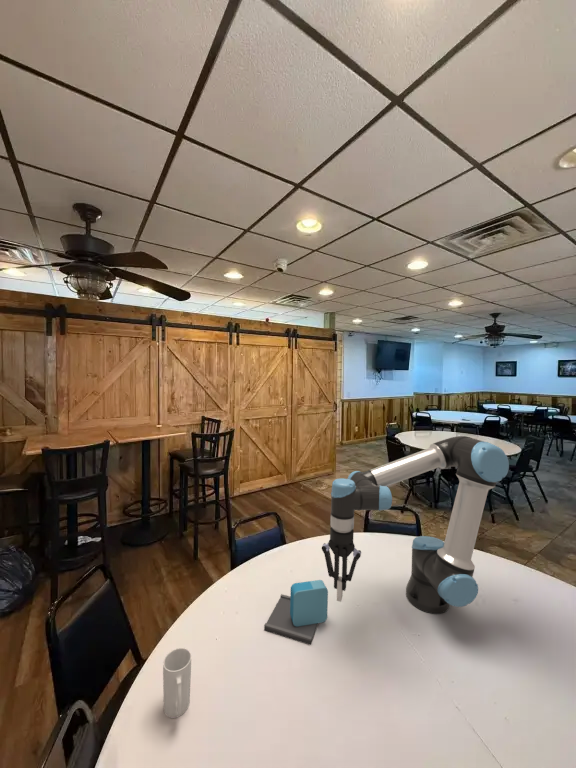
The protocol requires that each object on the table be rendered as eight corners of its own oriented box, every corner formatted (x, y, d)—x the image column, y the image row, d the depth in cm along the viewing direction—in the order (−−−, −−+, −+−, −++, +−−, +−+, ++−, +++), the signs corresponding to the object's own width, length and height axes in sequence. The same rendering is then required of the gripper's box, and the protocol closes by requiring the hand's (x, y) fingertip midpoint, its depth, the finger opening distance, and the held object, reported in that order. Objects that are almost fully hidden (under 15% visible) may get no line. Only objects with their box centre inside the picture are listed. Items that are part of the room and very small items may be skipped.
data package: (322, 612, 113) (323, 578, 112) (327, 622, 108) (328, 587, 108) (289, 617, 110) (290, 583, 109) (293, 627, 105) (293, 592, 105)
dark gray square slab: (322, 610, 115) (322, 605, 115) (311, 645, 100) (311, 639, 100) (281, 598, 121) (281, 594, 121) (264, 630, 106) (264, 625, 106)
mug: (162, 697, 83) (162, 652, 83) (189, 688, 86) (189, 644, 85) (163, 738, 74) (164, 687, 73) (193, 726, 76) (194, 677, 76)
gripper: (363, 526, 106) (361, 596, 106) (324, 519, 110) (322, 586, 111) (360, 536, 99) (358, 611, 99) (319, 529, 103) (317, 600, 104)
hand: (339, 598), depth 105 cm, fingers closed
